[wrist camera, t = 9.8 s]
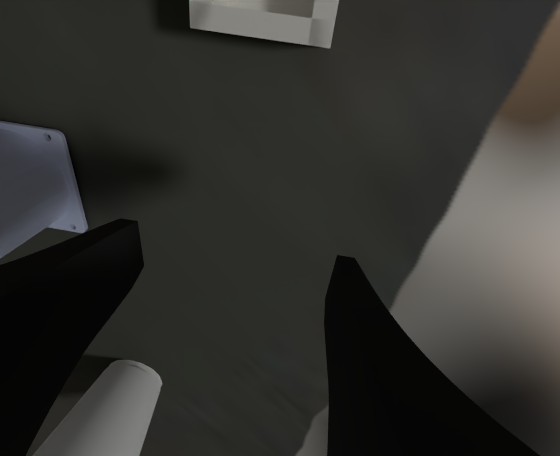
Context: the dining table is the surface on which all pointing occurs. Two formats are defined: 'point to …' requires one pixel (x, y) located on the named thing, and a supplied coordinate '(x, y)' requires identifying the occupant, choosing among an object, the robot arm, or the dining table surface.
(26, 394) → the robot arm
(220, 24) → the gray square open box
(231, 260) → the dining table surface
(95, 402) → the foam cup
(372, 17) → the dining table surface
